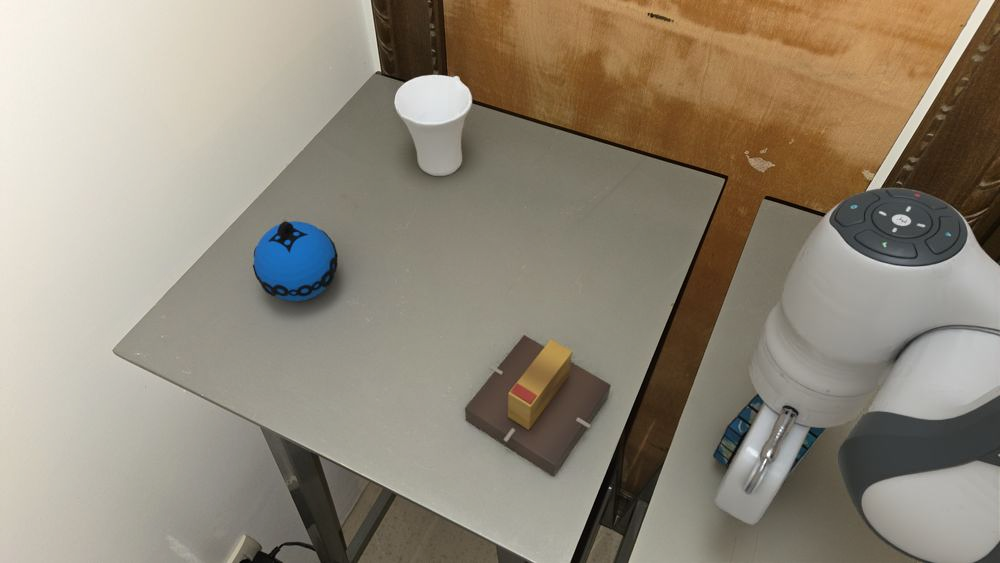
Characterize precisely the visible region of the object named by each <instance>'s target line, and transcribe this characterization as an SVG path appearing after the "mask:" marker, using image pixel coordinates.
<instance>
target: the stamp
mask: <svg viewBox="0 0 1000 563" xmlns="http://www.w3.org/2000/svg"><path fill="white" fill-rule="evenodd" d="M572 357H573V350H571V349H569V348H568V347H566V346H564V345H562V344H561V343H559V342H557V341H556V340H554V339H552V338H551V339H549V341H548V342H547V343H546V344H545V345H544V348H543V350H542V351H541V352H540V353H539V355H538V356H537V357H536V359H535V360H534V361H533V362H532V364H531V365H530V366H529V367H528V369H527V370H526V371H525V373H524V374H523V375H522V376H521V378H520V379H519V380H518V381H517V383H516V384H515V385H514V387H513V388H512V389H511V390H510V392H509V393H508V417H509V418H511V419H512V420H514V421H515V422H517V423H519V424H520V425H522V426H523V427H525V428H526V429H528V430H529V429H530V428H531V426H532V425H533V424H534V422H535V421H536V420H537V418H538V417H539V416H540V414H541V413H542V412H543V410H544V409H545V408H546V406H547V405H548V404H549V402H550V401H551V399H552V398H553V397H554V395H555V394H556V393H557V391H558V390H559V389H560V387H561V386H562V385H563V383H564V382H565V381H566V379H567V378H568V377H569V371H570V365H571V362H572V359H573V358H572Z"/></svg>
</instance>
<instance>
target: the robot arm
mask: <svg viewBox="0 0 1000 563" xmlns="http://www.w3.org/2000/svg"><path fill="white" fill-rule="evenodd" d="M780 297H781V298H780V300H779V301H778V302H777V303H776V304H775V305H774V306H773V307H772V309H771V310H770V312H769V313H768V315H767V318H766V319H765V322H764V324H763V326H762V328H761V330H760V332H759V334H758V336H757V339H756V341H755V343H754V345H753V347H752V349H751V351H750V354H749V358H748V373H749V377H750V381H751V383H752V386H753V388H754V390H755V391H756V394H757V393H758V395H759V396H760V397H761V398H762V400H763V401H764V402H763V404H762V406H761V408H760V410H759V412H758V414H757V415H756V417H755V419H754V421H753V423H752V425H751V427H750V429H749V431H748V432H747V434H746V436H745V438H744V440H743V442H742V444H741V446H740V447H739V449H738V451H737V453H736V455H735V457H734V459H733V461H732V463H731V464H730V466H729V468H727V470H726V472H725V474H724V476H723V478H722V480H721V482H720V483H719V485H718V487H717V489H716V491H715V493H714V498H713V500H714V504H715V505H716V506H717V507H719V508H720V509H721V510H722V511H724V512H725V513H727V514H728V515H730V516H731V517H733V518H736V519H737V520H739V521H741V522H743V523H745V524H748V525H755V524H757V523H758V522H759V521H760V520H761V518H762V517H763V516H764V514H765V512H766V511H767V509H769V507H770V505H771V503H772V502H773V501H774V499H775V497H776V495H777V494H778V492H779V491H780V489H781V488H782V486H783V485H784V484H783V482H784V480H785V479H786V477H787V475H788V473H789V471H790V469H791V467H792V465H793V463H794V461H795V459H796V457H797V454H798V452H799V450H800V448H801V446H802V444H803V442H804V440H805V438H806V436H807V434H808V431H809V429H810V427H817V428H825V429H827V428H834V427H839V426H842V425H844V424H847V423H849V422H851V421H852V420H854V419H855V418H857V416H858V415H859V414H860V413H861V412H862V411H863V409H864V408H865V407H866V406H867V405H868V403H869V401H871V399H872V397H874V396H875V394H876V392H877V391H878V392H877V394H876V396H875V397H874V399H873V400H872V402H871V404H870V406H869V408H868V409H867V411H866V412H865V413H864V414H862V416H860V419H859V420H858V421H857V423H856V424H855V425H854V427H853V428H852V430H851V431H850V432H849V434H848V435H847V436H846V437H845V440H844V441H843V442H842V443H841V445H840V446H839V449H838V452H837V463H838V467H839V470H840V473H841V477H842V480H843V483H844V486H845V488H846V492H847V493H848V496H849V498H850V500H851V503H852V504H853V506H854V508H855V510H856V511H857V513H858V515H859V516H860V517H861V519H862V521H863V522H864V523H865V525H866V526H867V527H868V528H869V530H870V531H872V533H873V534H874V535H875V536H876V537H877V538H879V539H880V540H881V541H882V542H883V543H884V544H886V545H887V546H889V547H890V548H892V549H893V550H896V551H897V552H899V553H900V554H902V555H904V556H906V557H908V558H910V559H912V560H915V561H917V562H921V563H1000V265H999V263H997V262H996V261H995V260H993V259H992V258H991V257H990V255H988V253H986V251H985V249H983V248H982V247H981V245H980V244H979V242H978V241H977V238H976V236H975V234H974V232H973V230H972V228H971V226H970V225H969V222H968V221H967V220H966V218H965V217H964V216H963V215H962V214H961V213H960V212H959V211H958V210H957V209H956V208H954V207H953V206H952V205H950V204H949V203H947V202H945V201H944V200H942V199H940V198H938V197H936V196H934V195H931V194H928V193H926V192H923V191H920V190H915V189H910V188H902V187H880V188H879V187H878V188H874V189H870V190H865V191H862V192H858V193H856V194H854V195H851V196H849V197H846V198H845V199H843V200H841V201H840V202H839V203H837V204H836V205H834V206H833V207H832V208H831V209H830V210H829V211H828V212H827V213H825V214H824V216H823V217H822V218H821V219H820V220H819V221H818V223H816V225H815V226H814V227H813V229H812V230H811V232H810V233H809V235H808V237H807V238H806V239H805V241H804V243H803V245H802V246H801V248H800V250H799V252H798V253H797V255H796V257H795V259H794V261H793V263H792V264H791V267H790V268H789V271H788V273H787V275H786V277H785V279H784V282H783V285H782V289H781V295H780ZM782 484H783V485H782Z"/></svg>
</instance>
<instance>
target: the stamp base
mask: <svg viewBox="0 0 1000 563" xmlns="http://www.w3.org/2000/svg"><path fill="white" fill-rule="evenodd" d="M544 347H545V345H543V344H541V343H539V342H538V341H536V340H534V339H532V338H530V337H528V336H527V335H525V334H523V336H522V337H521V338H520V339H519V340H518V341H517V343H515V345H514V347H513V348H512V349H511V350H510V352H509V353H508V354H507V355H506V357H505V358H504V359H503V360H502V362H500V364H499V365H498V366H497V367H496V366H494V365H492V364H491V365H490V366H489V369H490V370H491V371H493V373H492V374H491V375H490V376H489V378H488V379H487V380H486V381H485V383H484V384H483V385H482V386H481V388H479V390H478V391H477V392H476V394H475V395H474V396H473V397H472V398H471V400H470V401H469V403H467V405H466V406H465V407H464V415H465V416H464V417H465V422H468V423H469V424H470V425H472V426H474V427H476V428H477V429H479V430H480V431H481V432H483V433H485V434H487V435H488V436H489V437H491V438H492V439H494V440H496V442H497V441H498V442H499V443H501V444H502V445H503V446H505V447H506V448H508V449H509V450H511V451H513V452H514V453H516V454H517V455H519V456H521V457H522V458H524V459H525V460H526V461H528V462H530V463H531V464H533V465H534V466H536V467H538V468H539V469H541V470H542V471H544V472H545V473H547V474H549V475H550V476H551V477H555V475H557V473H558V471H559V470H560V469H561V467H562V465H563V464H564V463H565V461H566V459H568V456H569V455H570V454H571V452H572V451H573V449H574V448H575V447H576V446H577V444H578V442H579V441H580V439H581V438H582V436H583V435H584V433H585V432H586V430H587V429H590V428H591V427H592V425H591V423H592V422H593V420H594V419H595V417H596V416H597V414H598V413H599V412H600V410H601V409H602V407H603V406H604V404H605V403H606V401H607V400H608V398H609V395H610V391H611V387H612V385H611V383H608V381H605V380H603V379H601V378H599V377H598V376H596V375H595V374H593V373H591V372H589V371H587V370H586V369H584V368H582V367H581V366H579V365H577V364H576V363H575V362H572V361H571V365H570V371H569V377H568V378H567V379H566V381H565V382H564V383H563V385H562V386H561V387H560V389H559V390H558V391H557V393H556V394H555V395H554V397H553V398H552V399H551V401H550V402H549V404H548V405H547V406H546V408H545V409H544V410H543V412H542V413H541V414H540V416H539V417H538V418H537V420H536V421H535V422H534V424H533V425H532V426H531V428H530V429H529V430H528V429H526V428H525V427H523V426H522V425H520V424H519V423H517V422H515V421H514V420H512V419H511V418H509V417H508V393H509V392H510V390H511V389H512V388H513V387H514V385H515V384H516V383H517V381H518V380H519V379H520V378H521V376H522V375H523V374H524V373H525V371H526V370H527V369H528V367H529V366H530V365H531V364H532V362H533V361H534V360H535V359H536V357H537V356H538V355H539V353H540V352H541V351H542V350H543V348H544Z"/></svg>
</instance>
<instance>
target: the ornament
mask: <svg viewBox="0 0 1000 563" xmlns="http://www.w3.org/2000/svg"><path fill="white" fill-rule="evenodd" d="M338 257H339V255H338V252H337V248H336V245H335V242H334V241H333V240H332V239H331V237H330V236H329V235H328V234H327V233H326V231H324V230H323V229H320V228H318V227H316V226H315V225H314V224H311V223H309V222H304V221H297V220H295V221H294V220H293V221H285V220H284V221H282V222H281V223H279V224H277V225H275V226H272V227H271V228H270V229H269V230H267V231H266V232H265V233H264V235H262V237H261V238H260V239H259V241H258V243H257V245H256V246H255V248H254V250H253V264H252V269H253V272H254V276H255V279H256V280H257V281H258V283H259V284H260V286H261V288H262V289H263V290H264V291H265V292H266V294H268V295H270V296H271V297H277V298H278V299H281V300H285V301H289V302H301V301H307V300H310V299H312V298H314V297H317V296H318V295H320V294H321V293H322V292H324V291H325V290H326V289H327V288H328V287H329V286H330V285H331V284H332V283H333V280H334V277H335V273H336V271H337V268H338Z"/></svg>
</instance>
